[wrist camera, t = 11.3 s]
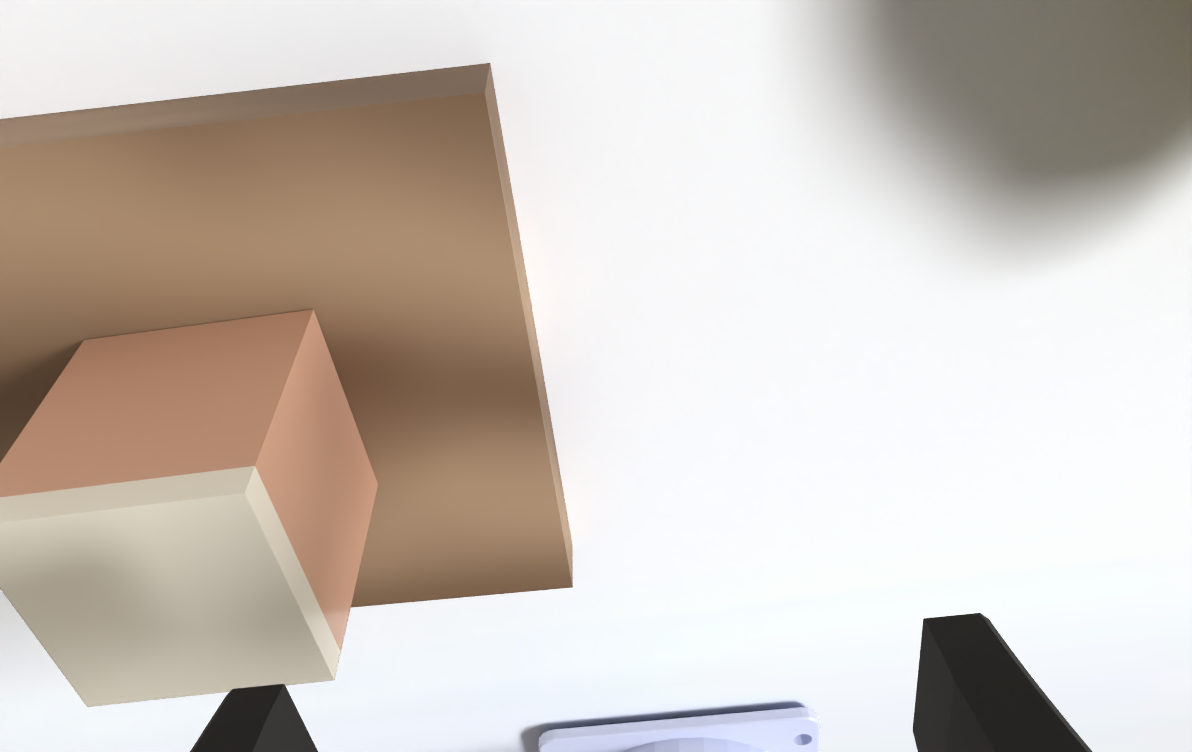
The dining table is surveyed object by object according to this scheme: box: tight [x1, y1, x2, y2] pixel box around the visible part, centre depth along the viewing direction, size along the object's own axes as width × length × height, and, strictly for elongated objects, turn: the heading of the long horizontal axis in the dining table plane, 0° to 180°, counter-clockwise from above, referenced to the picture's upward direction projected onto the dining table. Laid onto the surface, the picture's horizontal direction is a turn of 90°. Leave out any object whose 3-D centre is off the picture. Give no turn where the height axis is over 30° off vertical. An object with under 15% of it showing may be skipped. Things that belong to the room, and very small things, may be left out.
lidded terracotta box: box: [0, 309, 378, 707], centre depth 18 cm, size 4×4×5 cm
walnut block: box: [0, 63, 573, 607], centre depth 21 cm, size 12×12×2 cm
